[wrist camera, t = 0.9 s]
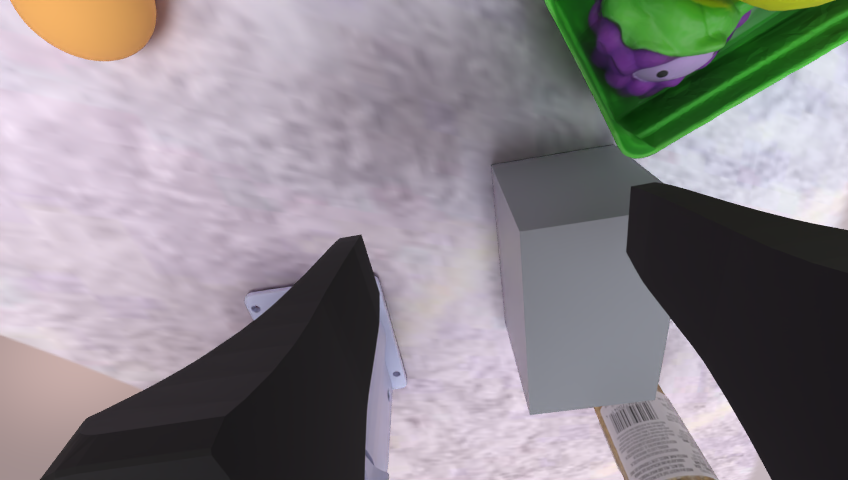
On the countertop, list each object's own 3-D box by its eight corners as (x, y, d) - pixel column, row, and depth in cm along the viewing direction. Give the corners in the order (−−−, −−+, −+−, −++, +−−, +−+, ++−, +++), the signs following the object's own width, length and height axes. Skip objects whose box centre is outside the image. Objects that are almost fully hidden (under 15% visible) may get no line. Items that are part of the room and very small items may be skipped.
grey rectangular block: (602, 309, 26) (654, 399, 20) (505, 322, 26) (530, 414, 20) (614, 144, 20) (691, 205, 14) (491, 164, 20) (519, 231, 15)
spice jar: (582, 397, 30) (687, 652, 18) (574, 354, 28) (688, 615, 16) (648, 382, 29) (798, 638, 18) (645, 338, 27) (815, 598, 15)
